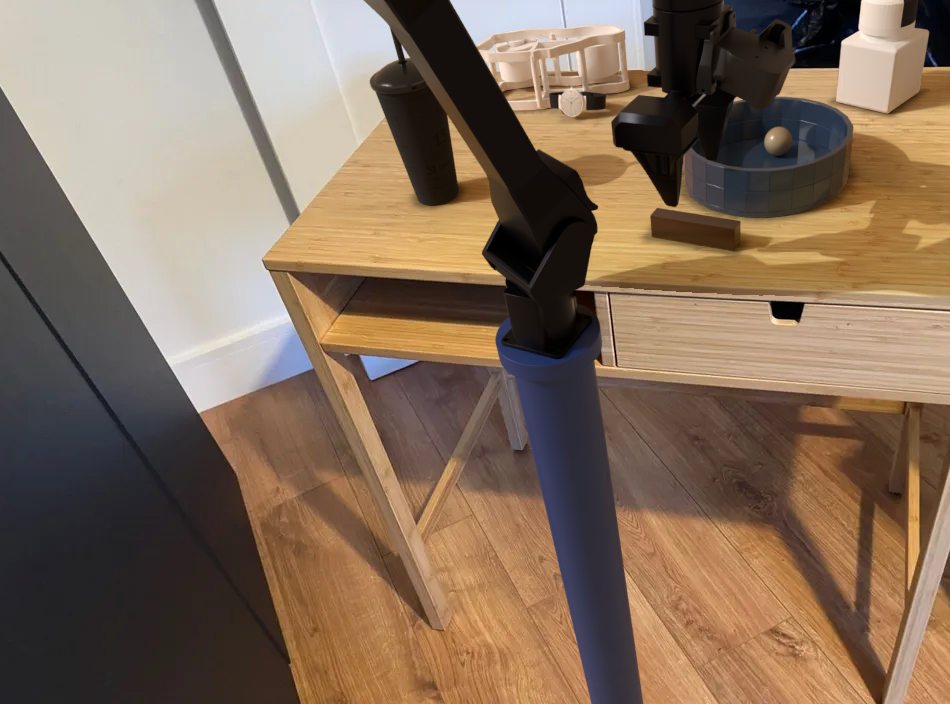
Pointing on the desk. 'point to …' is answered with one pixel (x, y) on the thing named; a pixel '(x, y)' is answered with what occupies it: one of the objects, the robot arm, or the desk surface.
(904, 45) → the medicine bottle
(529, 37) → the skeletal toy car
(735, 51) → the robot arm
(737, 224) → the brown rectangular block
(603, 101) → the watch
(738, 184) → the bowl
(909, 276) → the desk surface
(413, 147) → the drinking cup
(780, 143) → the bead
